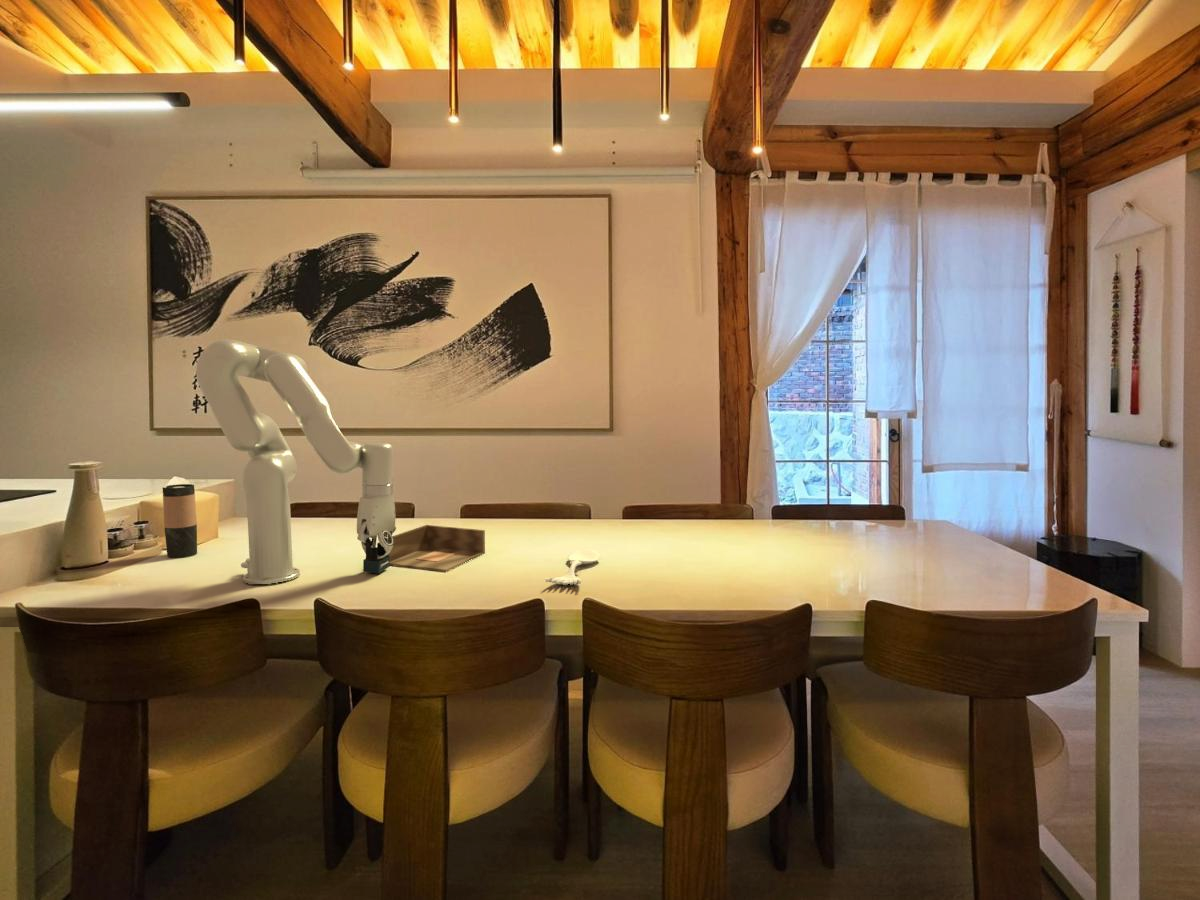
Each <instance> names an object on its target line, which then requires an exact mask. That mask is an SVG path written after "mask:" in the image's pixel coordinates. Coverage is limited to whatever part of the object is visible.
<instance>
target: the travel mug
mask: <svg viewBox="0 0 1200 900" xmlns="http://www.w3.org/2000/svg"><path fill="white" fill-rule="evenodd" d="M195 493H196V492H195V484H191V483H190V484H189V483H187V484H186V483H183V484H182V483H181V484H179V483H178V484H170V485H167V486H165V487H162V499H163V500H162V502H163V504H162V505H163V526H164V537H165V546H166V555H167V556H166V557H167V558H168V559H184V558H189V557H193V556H196V555H197V554H198V527H197V526H198V523H197V522H198V521H197V507H196V494H195Z"/></svg>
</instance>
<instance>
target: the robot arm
mask: <svg viewBox="0 0 1200 900" xmlns="http://www.w3.org/2000/svg"><path fill="white" fill-rule="evenodd" d="M195 375H196V379H197V383H198V386H199V388H200V390H201V392H202V394H203V396H204V398H205V400H206V402H207V404H208V405H209V407H210V409H211V412H212V413H213V416H214V417H215V419H216V421H217V423H218V425H219V427H220V428H221V430H222V433H223V434H224V437H226V440H227V442H228V444H229V445H230V446H231V447H232V448H233V449H235V450H237V451H240V452H247V453H248V455H249V457H250V459H249V460H248V461H247V463H246V465H245V467H244V469H243V472H242V473H243V474H242V485H243V488H244V493H245V500H246V501H245V502H246V513H247V531H248V533H247V534H248V552H249V554H248V555H249V557H248V558H246V559H245V562H244V561H243V562H241V563H240V567H241V568H242V569H246V570H247V573H245V574H244V575H243V577H242V578H243V579H242V580H243V583H244V584H247V583H248V584H247V585H252V584H268V585H271V584H270V583H276V584H279V583H278V582H282V583H284V582H283V581H286V582H288V581H287V580H289V581H291V580H290V579H292V580H294V578H295V579H296V577H297V578H299V576H300V571H301V570H300V569H299V568H297V567H294V566H293V542H292V541H293V540H292V517H291V501H290V500H291V499H290V493H289V487H288V484H289V483H291V482H292V481H293V480H294V479H295V477H296V475H297V473H298V472H297V471H298V464H297V461H296V458H295V457H294V454H293V452H292V450H291V448H290V446H289V444H288V442H287V440H286V439H285V437H284V435H283V433H282V431H281V429H280V428H279V426H278V424H277V423H276V422H275V421H274V419H273V418H271V417H270V416H269V415H268V414H265V413H263V412H259V411H257V410H256V408H255V406H254V404H253V402H252V400H251V399H250V397H249V394H248V393H247V391H246V390H245V388H244V387H243V386H242V384H241V382H240V380H239V376H241V377H246V378H251V379H255V380H259V381H263V382H266V383H269V384H270V385H271V387H272V388H273V390H274V391H275V392H276V393H277V394H278V396H279V397H280V399H281V400H282V401H283V403H284V404H285V405H286V407H287V408H288V409H289V411H290V412H291V413H292V415H293V416H294V418H295V419H296V421H297V423H298V425H299V427H300V429H301V430H302V432H303V434H304V435H305V437H306V439H307V441H308V442H309V444H310V446H311V447H312V448H313V450H314V451H315V453H316V454H317V455H318V457H319V458H320V460H321V461H322V462H323V464H325V466H326V467H327V468H328V469H329V470H330V471H332V472H334V473H336V474H340V475H343V474H348V473H350V472H352V471H354V470H356V469H357V470H358V469H361V470H362V471H361V475H362V476H361V478H362V481H361V483H362V484H361V488H362V489H361V496H360V497H359V500H358V501H359V502H358V508H357V515H356V534H357V540H358V541H360V543H361V542H362V543H363V544H364V547H366V553H365V559H367V560H372V561H377V555H380V556H383V555H384V554H385V553H386V551H385V549H384V547H383V546H382V545H381V544H380V543H379V541H378V542H377V540H378V535H379V534H380V533H381V532H382V531H389V532H390V533H391V535H392V536H393V534H394V533H395V532H396V530H397V527H396V505H395V497H394V448H393V446H392V444H390V443H388V442H367V443H366V442H358V441H352V440H348V439H347V438H346V437H345V436H344V433H342V432H341V430H340V428H339V427H338V425H337V424H336V422H335V420H334V418H333V415H332V413H331V406H330V404H329V401H328V399H327V398H326V397H325V395H324V394H323V393H322V391H321V389H320V388H319V387H318V386H317V385H316V383H315V381H314V380H313V379H312V377H311V376H310V375H309V369H308V366H307V363H306V361H305V360H304V359H303V358H301V357H300V356H298V355H296V354H293V353H290V352H289V353H288V352H283V351H279V350H274V349H271V348H268V347H263V346H260V345H256V344H252V343H249V342H243V341H240V340H236V339H231V338H224V339H223V338H222V339H218V340H215V341H213V342H211V343H210V344H209V345H207V346H206V347H205V348H204V349H203V351H202V352H201V353H200V355H199V357H198V359H197V362H196V368H195ZM385 557H388V558H389V554H388V555H386V556H385Z"/></svg>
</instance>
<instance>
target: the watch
mask: <svg viewBox="0 0 1200 900" xmlns="http://www.w3.org/2000/svg"><path fill="white" fill-rule="evenodd" d="M392 536H393V534H392V535H391V533H390V532H389V531H382V532H381V533H380V534H379V535H377V541H378V542H379V543H380V544H381V545H382V546H383V547H384V549H385V551H386V553H385V554H384V555H383V556H380V555H377V561H372V560H367V559H366V558H365V559H363V561H362V562H363V565H362V567H363V570H362V572H363V573H373V574H380V573H382V572H384V571H385V570H386V569H388V568H389V567H390V565H389V558H388V557H385V556H386V555H388V554H389V553H390V552H391V550H392V547H393V544H394V540H393V537H392ZM360 544H361V547H362V549H363V551H364V554H366V547H364V544H363V543H362V542H361V541H360ZM389 556H390V555H389Z"/></svg>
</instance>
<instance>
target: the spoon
mask: <svg viewBox="0 0 1200 900" xmlns="http://www.w3.org/2000/svg"><path fill="white" fill-rule="evenodd" d="M600 558H601V554H600V553H599V552H598V551H597V550H593V549H588V548H587V549H583V548H582V549H578V550H575V551H574V552H571V553H570V554H569V555H568V556H567V560H568V561H569V564H570V567H569V569H568V571H567V572H566V573H565V575H563V576H557V577H545V583H552V584H556V585H563V586H574V585H581V584H582V579H581V578H579V577H577V576H576V575H575V571H576V568H577V567H578V566H582V565H590V564H593V563H595V562H597V561H598V560H600ZM589 563H590V564H589ZM568 584H570V585H568ZM573 584H574V585H573Z"/></svg>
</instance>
